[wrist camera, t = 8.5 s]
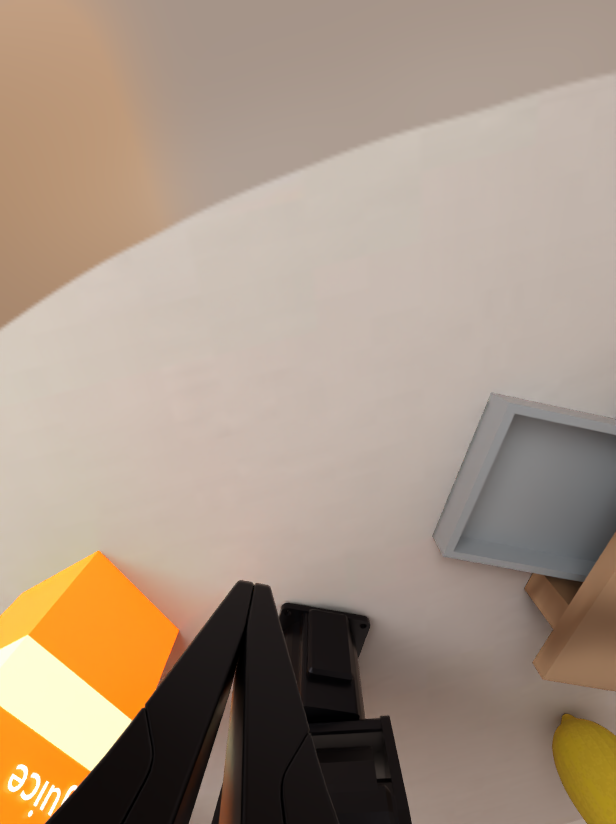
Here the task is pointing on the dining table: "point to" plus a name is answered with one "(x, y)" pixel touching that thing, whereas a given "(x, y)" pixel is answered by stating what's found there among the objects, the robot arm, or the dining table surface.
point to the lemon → (587, 767)
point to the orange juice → (72, 681)
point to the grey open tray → (533, 490)
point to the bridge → (579, 625)
